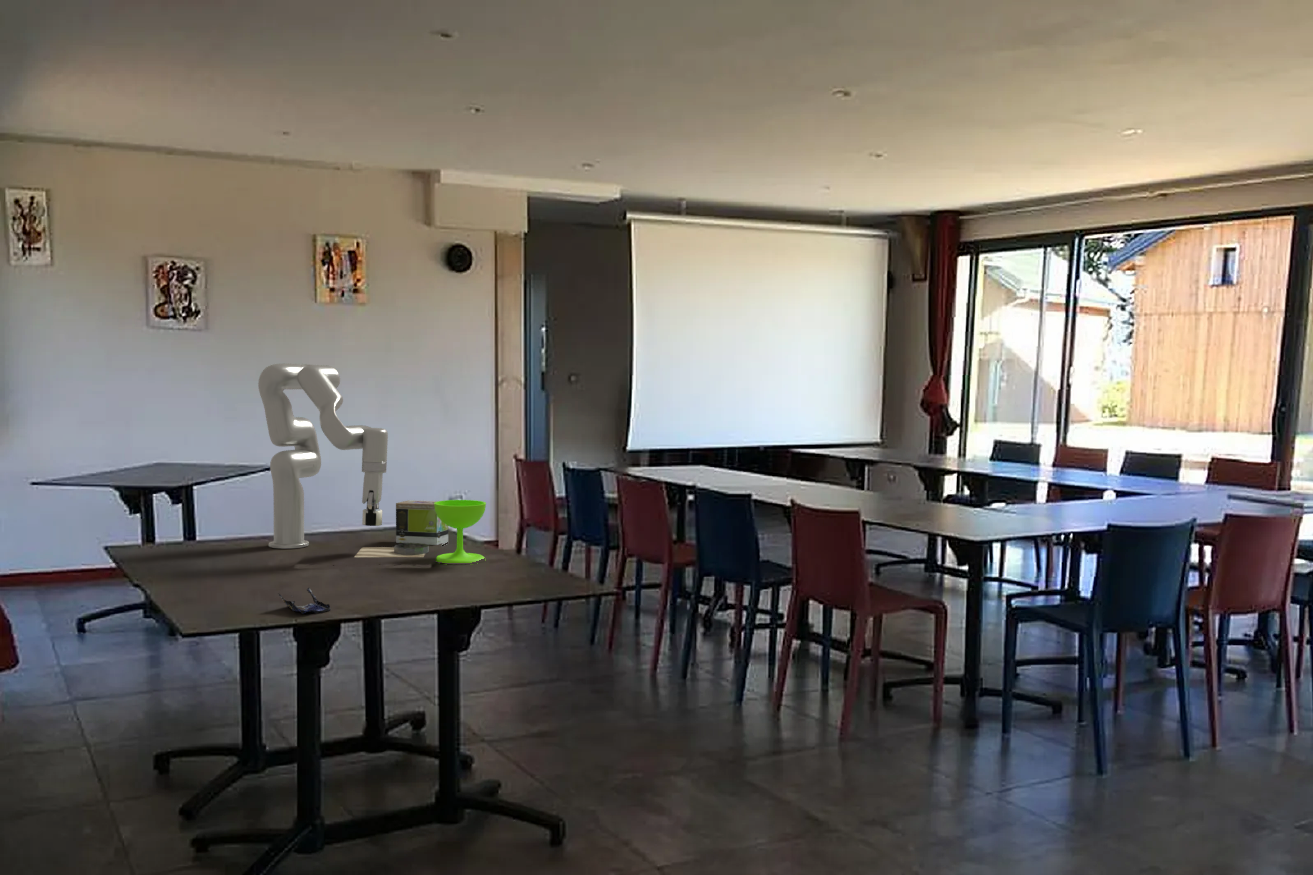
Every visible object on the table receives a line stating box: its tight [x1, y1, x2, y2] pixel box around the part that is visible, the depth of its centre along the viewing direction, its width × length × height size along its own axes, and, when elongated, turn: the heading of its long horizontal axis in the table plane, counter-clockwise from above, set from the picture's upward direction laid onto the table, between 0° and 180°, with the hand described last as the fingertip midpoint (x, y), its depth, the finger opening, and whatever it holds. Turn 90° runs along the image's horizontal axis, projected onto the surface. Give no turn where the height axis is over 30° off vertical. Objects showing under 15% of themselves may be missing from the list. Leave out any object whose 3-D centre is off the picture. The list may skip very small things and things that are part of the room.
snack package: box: [277, 587, 331, 615], centre depth 267 cm, size 12×6×12 cm
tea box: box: [395, 499, 449, 546], centre depth 366 cm, size 15×10×15 cm, turn 77°
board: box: [354, 546, 426, 558], centre depth 345 cm, size 18×21×1 cm
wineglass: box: [434, 499, 487, 563], centre depth 339 cm, size 16×16×18 cm
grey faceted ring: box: [393, 543, 430, 555], centre depth 346 cm, size 10×10×2 cm
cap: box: [361, 508, 383, 527], centre depth 344 cm, size 6×6×5 cm
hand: (372, 523), depth 344 cm, fingers closed on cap, 6 cm apart
